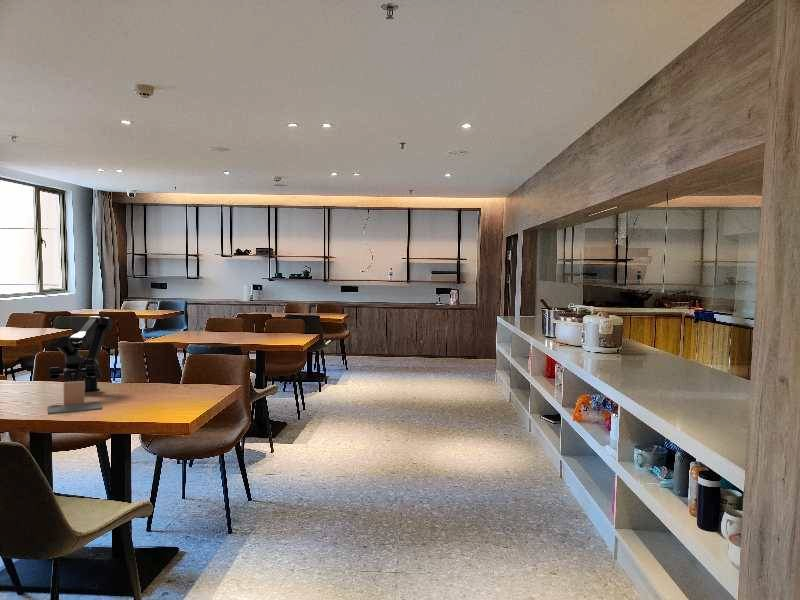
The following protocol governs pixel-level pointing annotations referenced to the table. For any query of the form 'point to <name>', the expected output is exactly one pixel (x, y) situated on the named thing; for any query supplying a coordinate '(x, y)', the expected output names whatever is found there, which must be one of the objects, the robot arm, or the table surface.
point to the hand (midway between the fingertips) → (73, 387)
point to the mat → (74, 407)
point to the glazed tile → (73, 392)
